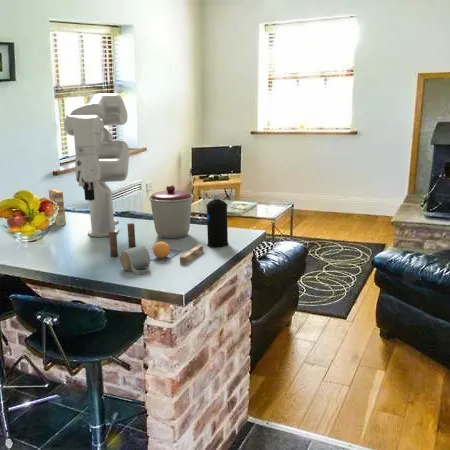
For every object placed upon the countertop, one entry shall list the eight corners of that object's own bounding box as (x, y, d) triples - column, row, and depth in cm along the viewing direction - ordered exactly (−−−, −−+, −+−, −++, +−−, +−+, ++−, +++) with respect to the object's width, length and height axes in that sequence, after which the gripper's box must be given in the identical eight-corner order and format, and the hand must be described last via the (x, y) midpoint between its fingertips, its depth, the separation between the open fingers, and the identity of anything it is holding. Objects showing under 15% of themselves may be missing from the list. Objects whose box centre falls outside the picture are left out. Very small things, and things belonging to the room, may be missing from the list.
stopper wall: (198, 251, 208) (197, 244, 207) (203, 251, 207) (202, 245, 207) (180, 264, 193) (179, 257, 193) (185, 264, 193) (185, 257, 192)
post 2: (130, 245, 218) (129, 223, 215) (136, 246, 217) (135, 223, 214) (127, 247, 215) (126, 224, 213) (133, 247, 214) (132, 225, 212)
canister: (184, 242, 220) (182, 190, 215) (143, 239, 225) (140, 188, 220) (201, 231, 236) (199, 182, 231) (162, 229, 242) (159, 180, 237)
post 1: (113, 255, 206) (111, 231, 203) (119, 255, 205) (117, 231, 203) (109, 257, 203) (107, 233, 201) (115, 257, 202) (113, 233, 200)
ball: (172, 257, 202) (158, 255, 204) (173, 241, 201) (159, 239, 204) (163, 260, 197) (149, 258, 199) (164, 243, 196) (149, 241, 198)
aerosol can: (231, 243, 218) (230, 192, 213) (223, 248, 210) (221, 196, 206) (212, 241, 221) (211, 191, 216) (203, 246, 214) (201, 195, 209)
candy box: (66, 224, 253) (63, 191, 250) (57, 226, 251) (53, 192, 248) (60, 221, 261) (57, 188, 257) (51, 222, 258) (48, 190, 255)
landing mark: (148, 247, 214) (148, 247, 214) (182, 250, 209) (182, 250, 209) (130, 258, 201) (130, 257, 201) (165, 261, 196) (165, 261, 196)
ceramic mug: (119, 268, 190) (117, 247, 188) (140, 264, 195) (139, 242, 193) (133, 277, 182) (132, 254, 180) (155, 272, 186) (154, 250, 184)
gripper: (82, 153, 197) (87, 204, 202) (105, 148, 211) (109, 196, 215) (64, 153, 200) (69, 203, 204) (88, 148, 214) (92, 195, 218)
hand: (89, 199), depth 210 cm, fingers closed
